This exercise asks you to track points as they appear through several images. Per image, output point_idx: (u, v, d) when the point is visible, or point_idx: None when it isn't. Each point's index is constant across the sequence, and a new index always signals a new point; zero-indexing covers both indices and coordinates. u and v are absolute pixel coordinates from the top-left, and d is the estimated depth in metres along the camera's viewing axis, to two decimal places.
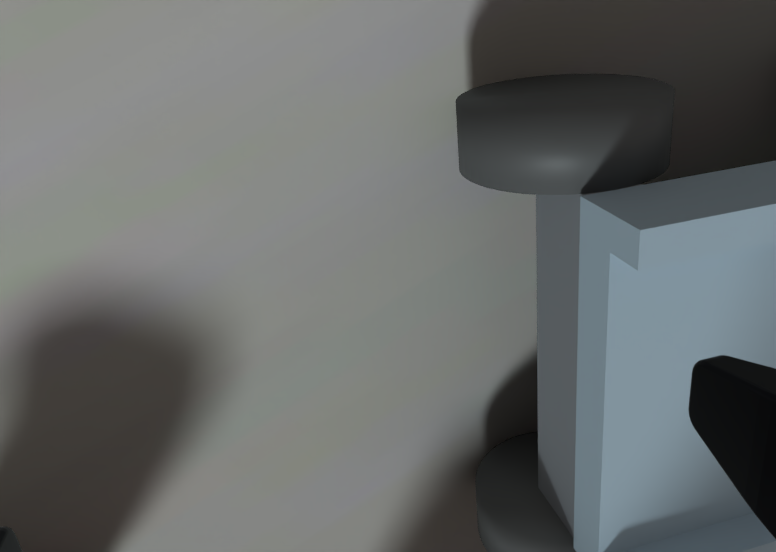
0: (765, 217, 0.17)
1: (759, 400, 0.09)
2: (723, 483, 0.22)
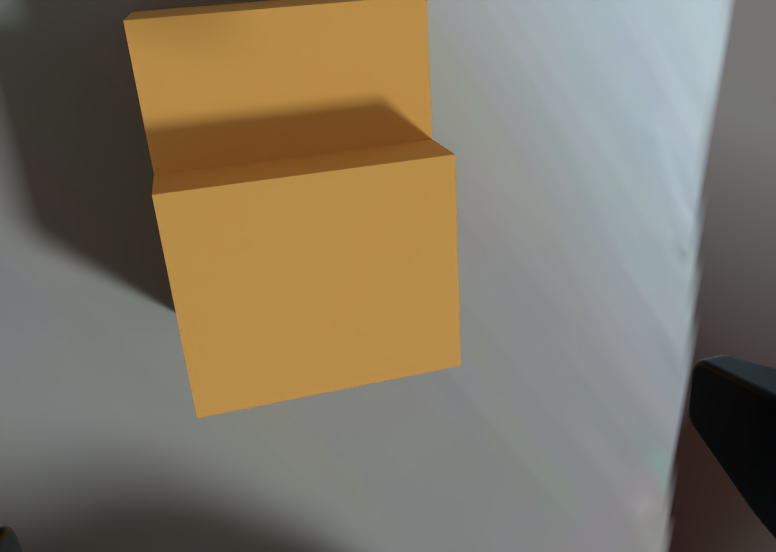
0: None
1: (759, 400, 0.09)
2: None
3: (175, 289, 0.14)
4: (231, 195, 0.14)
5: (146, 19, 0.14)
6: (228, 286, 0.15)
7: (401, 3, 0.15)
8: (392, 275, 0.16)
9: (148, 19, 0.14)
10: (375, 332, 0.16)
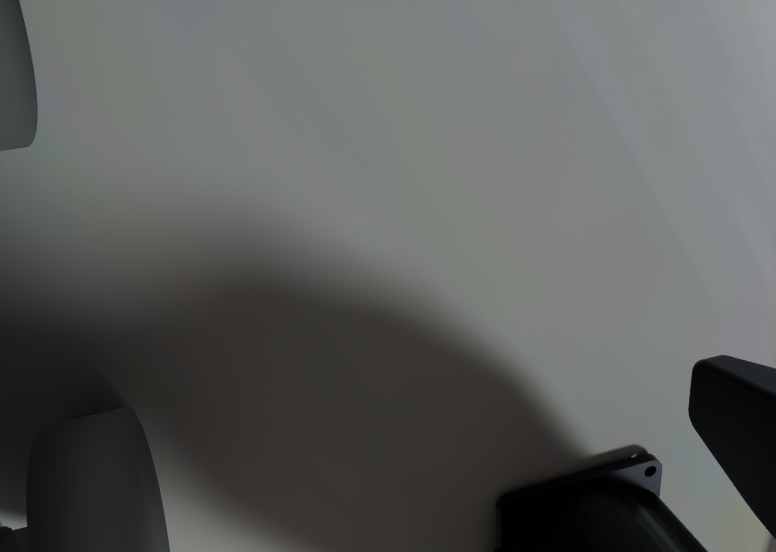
0: None
1: (759, 400, 0.09)
2: None
3: None
4: None
5: None
6: None
7: None
8: None
9: None
10: None
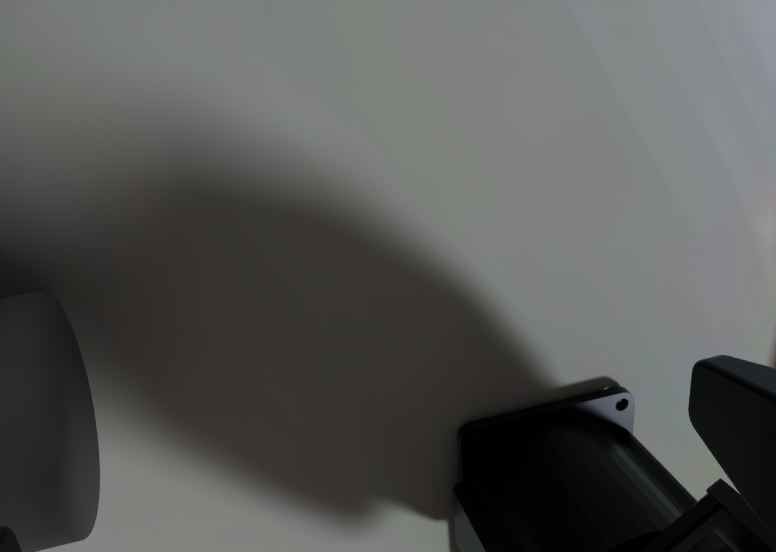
0: None
1: (759, 400, 0.09)
2: None
3: None
4: None
5: None
6: None
7: None
8: None
9: None
10: None
